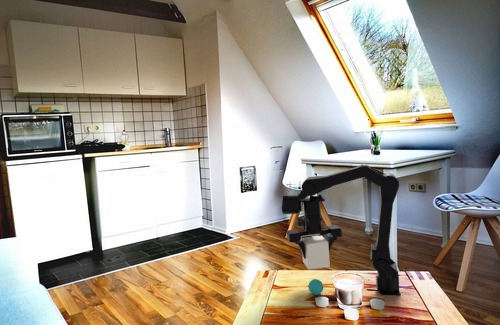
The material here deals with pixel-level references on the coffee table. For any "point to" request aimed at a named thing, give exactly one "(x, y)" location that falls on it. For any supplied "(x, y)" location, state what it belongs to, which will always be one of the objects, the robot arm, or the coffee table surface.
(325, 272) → the coffee table surface
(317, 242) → the white upright block
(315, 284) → the ball
